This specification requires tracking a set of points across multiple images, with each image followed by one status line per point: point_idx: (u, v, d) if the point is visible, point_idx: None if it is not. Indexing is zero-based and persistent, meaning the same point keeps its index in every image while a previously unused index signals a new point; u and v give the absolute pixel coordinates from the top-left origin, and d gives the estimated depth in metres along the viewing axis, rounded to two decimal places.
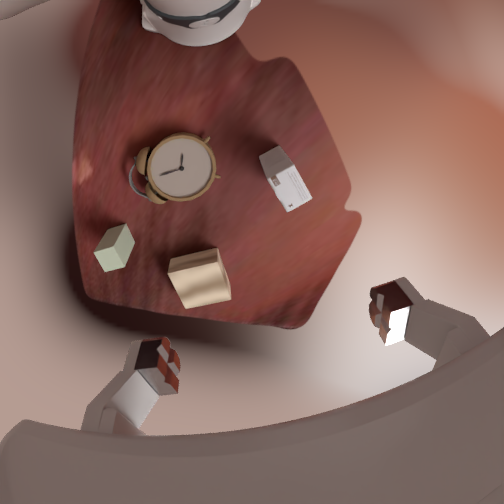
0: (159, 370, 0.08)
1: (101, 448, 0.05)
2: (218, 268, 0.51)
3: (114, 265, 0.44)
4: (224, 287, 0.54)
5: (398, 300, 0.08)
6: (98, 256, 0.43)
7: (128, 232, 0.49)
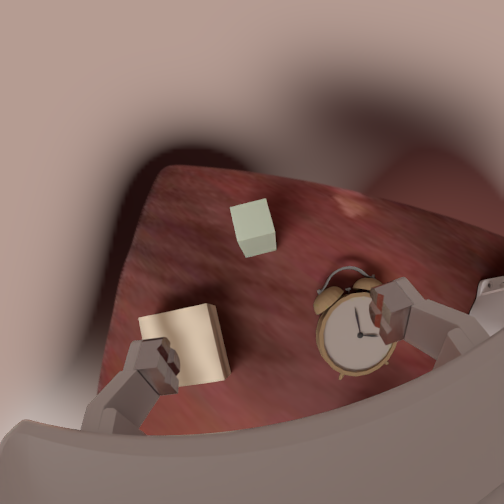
0: (159, 370, 0.08)
1: (101, 448, 0.05)
2: (212, 380, 0.31)
3: (240, 226, 0.32)
4: None
5: (398, 299, 0.08)
6: (258, 204, 0.33)
7: (264, 251, 0.39)
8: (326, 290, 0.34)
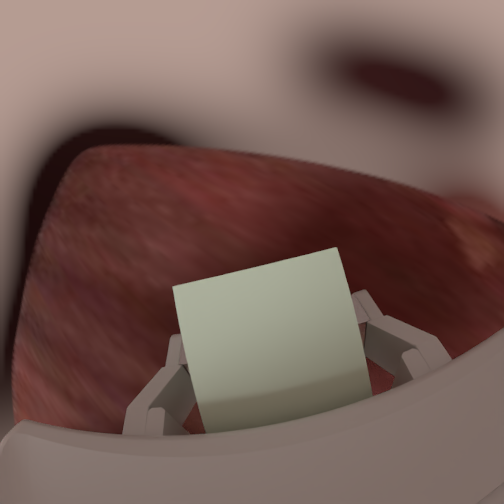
0: None
1: (101, 448, 0.05)
2: None
3: (220, 383, 0.06)
4: None
5: None
6: (304, 278, 0.07)
7: None
8: None
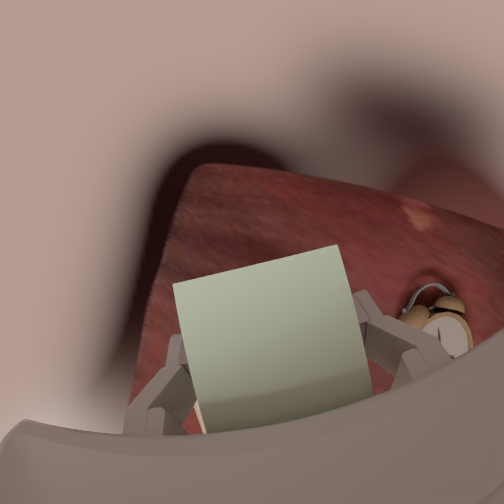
0: None
1: (101, 448, 0.05)
2: None
3: (221, 381, 0.06)
4: None
5: None
6: (304, 275, 0.07)
7: None
8: (413, 309, 0.27)
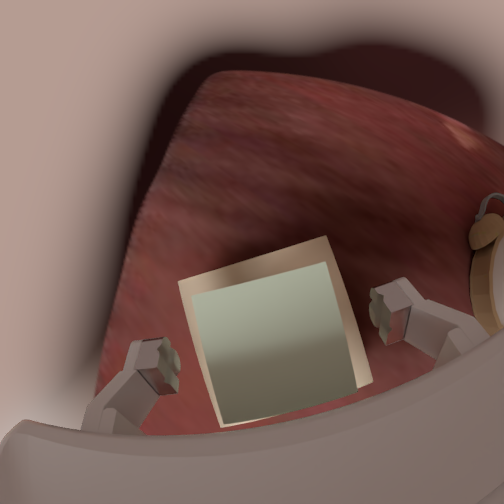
0: (159, 370, 0.08)
1: (101, 448, 0.05)
2: None
3: (232, 373, 0.08)
4: None
5: (398, 299, 0.08)
6: (298, 287, 0.09)
7: None
8: (488, 215, 0.18)
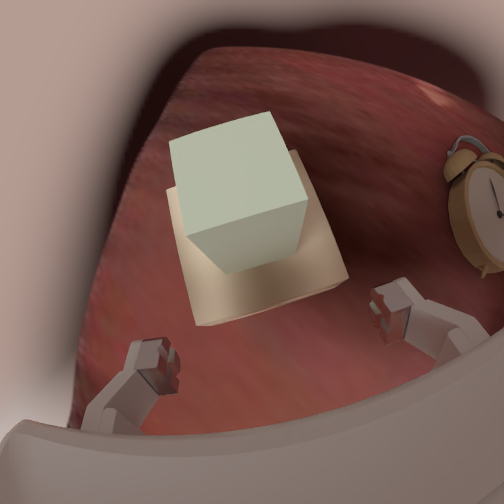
0: (159, 370, 0.08)
1: (101, 448, 0.05)
2: (325, 281, 0.17)
3: (196, 188, 0.10)
4: (250, 303, 0.17)
5: (398, 299, 0.08)
6: (249, 126, 0.10)
7: (269, 259, 0.17)
8: (459, 150, 0.20)
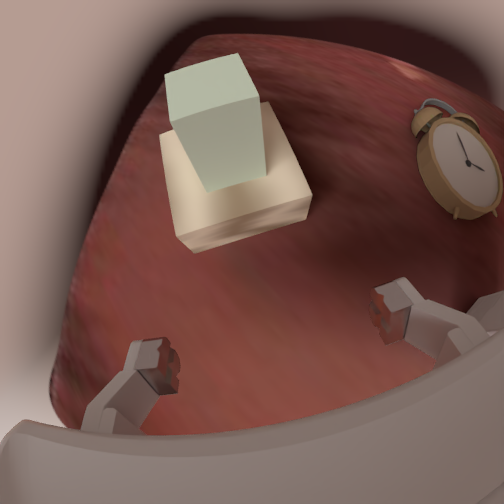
0: (159, 370, 0.08)
1: (101, 448, 0.05)
2: (291, 197, 0.19)
3: (181, 96, 0.12)
4: (224, 215, 0.19)
5: (398, 299, 0.08)
6: (222, 61, 0.13)
7: (243, 177, 0.19)
8: None
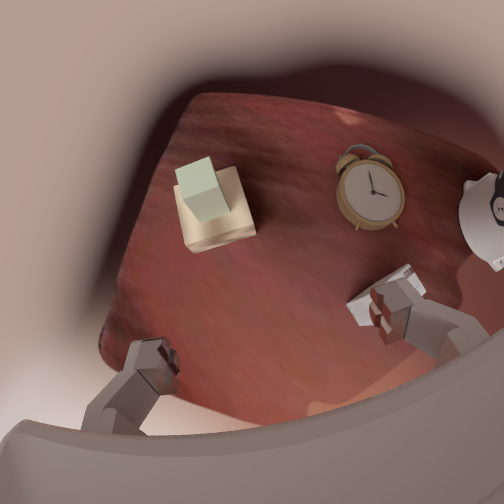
0: (159, 370, 0.08)
1: (101, 448, 0.05)
2: (242, 225, 0.38)
3: (185, 185, 0.31)
4: (209, 234, 0.38)
5: (398, 300, 0.08)
6: (201, 163, 0.32)
7: (218, 214, 0.38)
8: (346, 154, 0.41)
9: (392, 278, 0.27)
